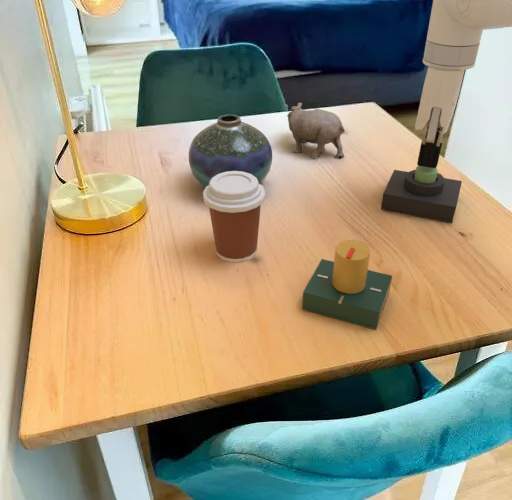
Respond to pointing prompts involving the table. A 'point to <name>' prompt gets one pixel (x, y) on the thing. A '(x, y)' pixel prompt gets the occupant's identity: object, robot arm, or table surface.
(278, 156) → the table surface
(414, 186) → the button base
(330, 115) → the rhinoceros figurine
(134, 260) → the table surface
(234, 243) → the coffee cup
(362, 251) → the knob
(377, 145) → the table surface
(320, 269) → the panel
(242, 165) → the vase
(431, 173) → the green short cylinder
